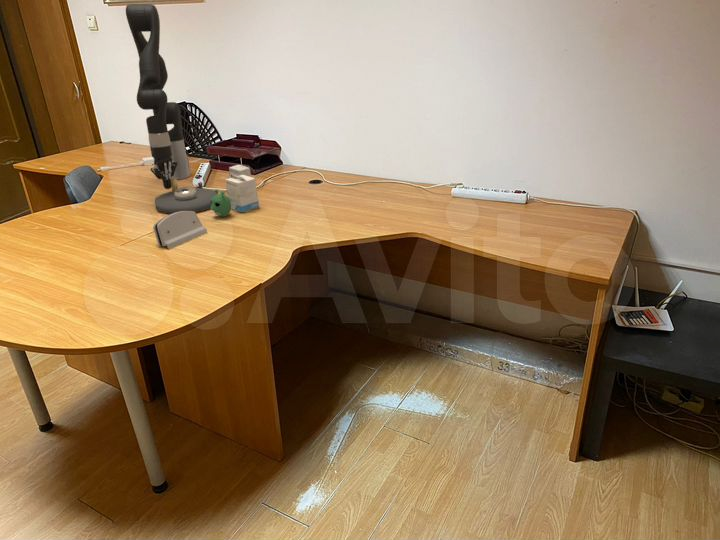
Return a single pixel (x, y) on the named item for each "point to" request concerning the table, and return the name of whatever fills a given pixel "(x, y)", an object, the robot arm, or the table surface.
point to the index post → (200, 185)
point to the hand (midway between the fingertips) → (168, 188)
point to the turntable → (171, 205)
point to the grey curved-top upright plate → (178, 229)
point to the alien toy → (220, 204)
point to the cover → (185, 194)
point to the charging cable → (145, 161)
